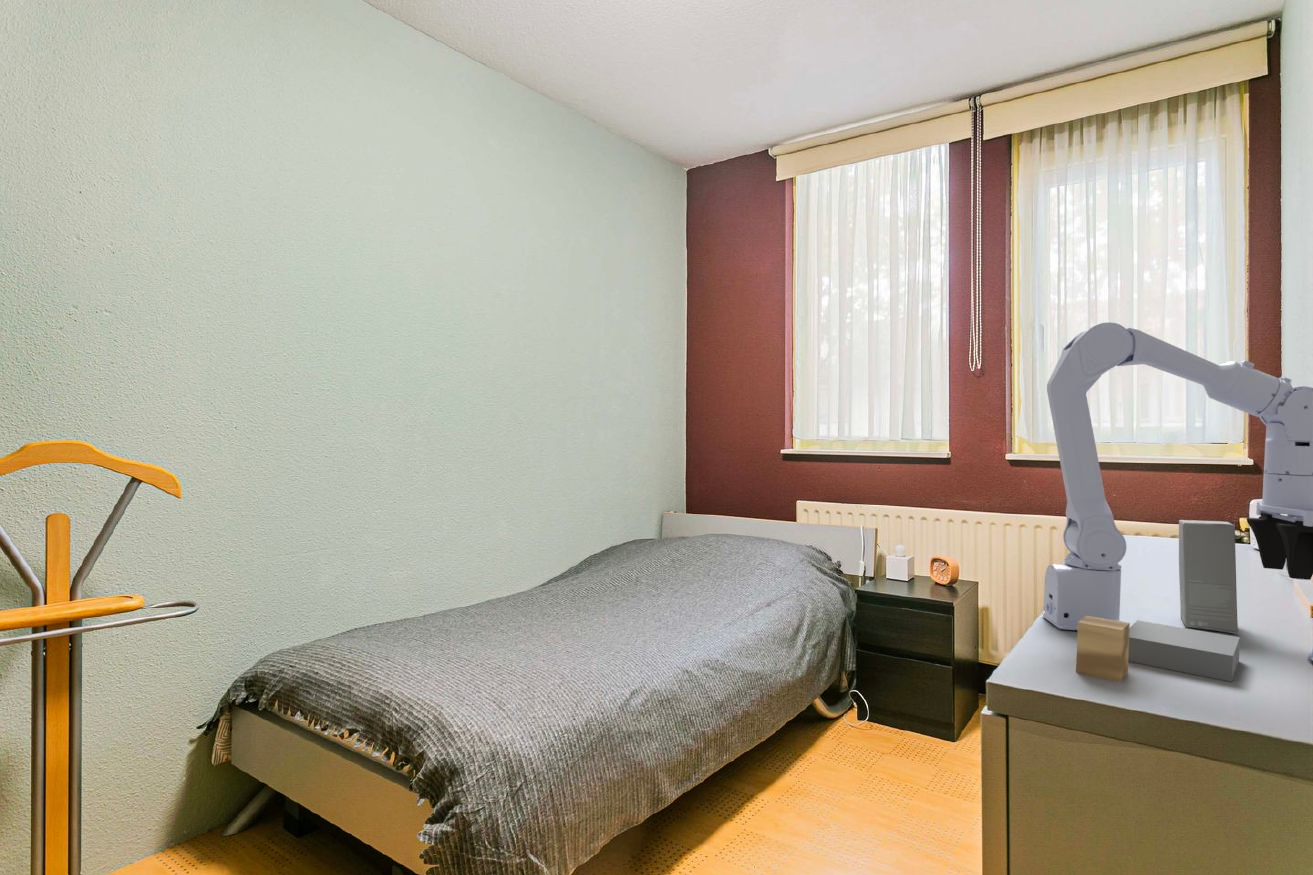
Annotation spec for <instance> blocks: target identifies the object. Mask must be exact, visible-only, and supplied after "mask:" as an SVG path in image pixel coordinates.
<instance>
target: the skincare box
mask: <svg viewBox="0 0 1313 875" xmlns="http://www.w3.org/2000/svg"><path fill="white" fill-rule="evenodd" d="M1236 559H1237V558H1236V525H1235V524H1232V523H1231V522H1229V521H1220V520H1217V521H1216V520H1194V519H1193V520H1192V519H1190V520H1189V519H1180V520H1178V573H1179V574H1178V575H1179V576H1178V578H1179V598H1180V599H1179V600H1180V603H1179V604H1180V619H1181V620H1182V622H1183V624H1184V626H1185V627H1187V628H1190V629H1201V630H1209V631H1217V632H1222V633H1228V634H1235V635H1236V634H1238V632H1239V626H1238V625H1239V623H1238V621H1239V620H1238V601H1237V600H1238V594H1237V591H1238V590H1237V566H1236V565H1237V562H1236Z"/></svg>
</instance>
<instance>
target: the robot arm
mask: <svg viewBox="0 0 1313 875" xmlns="http://www.w3.org/2000/svg"><path fill="white" fill-rule="evenodd" d="M1138 365H1139V366H1140V365H1147V366H1148V367H1152V368H1154V369H1157V370H1160V371H1163V372H1166V373H1168V374H1171V375H1174V376H1177V377H1179V378H1181V379H1185V380H1188V381H1189V382H1193V383H1196V384H1198V385H1201V386H1203V388H1204V390H1205V392H1206V394H1207V396H1208V398H1209V399H1211V400H1214V401H1216V402H1219V403H1221V404H1224V405H1227V406H1230V407H1231V408H1234V409H1237V410H1239V411H1240V412H1241V411H1242V412H1244V413H1246V414H1248V415H1251V416H1253V417H1256V418H1257V417H1258V418H1259V419H1260V422H1262V424H1264V425H1265V427H1266V428H1265V430H1266V431H1265V440H1264V441H1265V442H1264V458H1263V459H1264V460H1263V461H1264V462H1263V464H1264V466H1263V481H1262V482H1263V485H1262V501H1256V513H1255V514H1256V515H1257V516H1258V517H1246V523H1247V524H1248V525H1249V527H1250V529H1251V531H1252V533H1253V536H1254V537H1255V541H1256V544H1257V547H1258V552H1259V556H1260V561H1261V565H1262V567H1263V568H1264V569H1271V570H1284V568H1285V564H1286V570H1287V574H1288V577H1289V578H1290V579H1295V580H1296V579H1297V580H1307V581H1311V579H1312V577H1313V387H1311V386H1305V385H1303V386H1292V379H1290V378H1289V377H1286V376H1281V377H1279V378H1278V377H1276V376H1274V375H1271V374H1268V373H1266V372H1263V371H1261V370H1259V369H1256V368H1254V367H1255V363H1253V362H1251V361H1249V360H1242V361H1240V362H1238V361H1236V360H1235V361H1234V360H1231V361H1227V362H1225V363H1222V364H1216V363H1214V362H1212V361H1209V360H1207V359H1205V358H1203V357H1202V356H1201V357H1200V356H1199V355H1196V354H1194V353H1191V352H1189V351H1188V350H1184V349H1182V348H1180V347H1178V346H1177V345H1174V344H1171V343H1170V342H1169V343H1168V342H1166V341H1164V340H1162V339H1160V338H1157V337H1156V336H1153V335H1151V334H1149V333H1146V332H1143V331H1142V330H1140V329H1136V328H1132V327H1127V328H1126V327H1124V326H1123V325H1121V324H1120V323H1117V322H1111V321H1105V322H1100V323H1097V324H1095V325H1093V326H1092V327H1090V328H1089V329H1088V330H1085V331H1083V332H1082V331H1081V332H1080V333H1079V334H1077V335H1076V336H1075V337H1074V338H1073V339H1071V341H1069V342H1068V343H1067V344H1066V345H1065V346H1064V347H1063V348H1062V350H1061V354H1060V357H1059V359H1058V361H1057V362H1056V365H1055V366H1054V369H1053V371H1052V373H1051V375H1050V376H1049V379H1048V381H1047V384H1046V391H1047V392H1046V393H1047V399H1048V403H1049V404H1048V405H1049V409H1050V414H1051V418H1052V419H1051V420H1052V425H1053V430H1054V437H1055V441H1056V446H1057V452H1058V453H1057V454H1058V459H1059V463H1060V468H1061V475H1062V480H1063V484H1064V489H1065V490H1064V491H1065V497H1066V506H1065V507H1066V508H1065V517H1066V524H1065V527H1064V530H1063V534H1062V537H1063V538H1062V539H1063V543H1064V545H1065V547H1066V549H1067V550H1068V551H1069V553H1068V554H1067V555H1066V557H1064V561H1063V563H1060V564H1055V563H1053V564H1052V563H1051V564H1049V565H1048V566H1047V567H1046V570H1045V573H1044V574H1045V575H1044V590H1043V592H1044V595H1043V613H1044V611H1045V613H1044V614H1043V613H1041V615H1042V614H1043V616H1042V617H1043V618H1044V619H1046V620H1047V621H1048V622H1050V623H1051V624H1053V626H1055V627H1056V628H1057V629H1060V630H1071V631H1078V622H1079V621H1080V620H1081V619H1083V618H1084V617H1085V616H1092V617H1098V618H1104V619H1110V620H1116V621H1120V611H1121V610H1120V609H1121V588H1122V586H1121V585H1122V584H1121V582H1122V565H1121V564H1120V562H1121V561H1122V560H1123V559H1124V557H1125V555H1126V553H1127V552H1126V551H1127V541H1126V539H1125V537H1124V535H1123V533H1122V532H1121V531H1120V530H1119V529H1118V527H1117V525H1116V523H1115V519H1114V514H1113V512H1112V509H1111V508H1110V506H1109V504H1108V502H1107V498H1106V494H1105V488H1104V483H1103V477H1102V473H1101V466H1100V460H1099V457H1098V456H1099V455H1098V452H1097V446H1096V440H1095V434H1094V430H1093V424H1092V419H1091V413H1090V408H1089V407H1090V406H1089V403H1088V398H1087V393H1088V391H1089V390H1090V389H1091V388H1092V387H1093V386H1094V385H1095V383H1097V381H1098V380H1099V379H1101V377H1102V376H1103V375H1104V374H1105V373H1107V372H1108V371H1110V370H1111V369H1114V368H1115V367H1116V366H1117V367H1125V366H1126V367H1127V366H1138Z"/></svg>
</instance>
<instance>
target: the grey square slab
mask: <svg viewBox="0 0 1313 875" xmlns="http://www.w3.org/2000/svg"><path fill="white" fill-rule="evenodd" d="M1240 643H1241V637H1240V636H1234V635H1230V634H1229V635H1228V634H1223V633H1215V632H1210V631H1203V630H1197V629H1194V628H1188V627H1187V628H1185V627H1179V626H1175V625H1168V624H1161V623H1157V622H1156V623H1155V622H1149V621H1143V620H1138V619H1137V620H1136V621H1135V622H1134V623H1133V624H1132V625H1131V626H1130V628H1129V654H1128V662H1130V663H1134V664H1135V663H1136V664H1140V665H1144V666H1145V665H1146V666H1150V667H1151V666H1152V667H1156V668H1161V669H1166V670H1171V671H1175V672H1181V673H1184V674H1185V673H1186V674H1191V675H1196V676H1199V677H1200V676H1201V677H1206V678H1211V679H1214V680H1215V679H1216V680H1221V681H1225V682H1233V680H1234V676H1235V673H1236V671H1237V668H1238V666H1239V661H1240V645H1241V644H1240Z"/></svg>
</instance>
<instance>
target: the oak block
mask: <svg viewBox="0 0 1313 875" xmlns="http://www.w3.org/2000/svg"><path fill="white" fill-rule="evenodd" d="M1130 624H1131V623H1130V622H1126V621H1122V620H1119V621H1116V620H1110V619H1104V618H1098V617H1092V616H1085V617H1084V618H1083V619H1081V620H1080V621H1079V622H1078V630H1077V636H1076V640H1077V641H1076V663H1075V665H1076V666H1075V673H1077V674H1082V675H1085V676H1091V677H1095V678H1100V679H1104V680H1109V681H1115V682H1119V683H1121V682H1122V681H1123V680H1124V679H1125V677H1126V676H1127V675H1128V673H1129V661H1128V654H1129V628H1130V627H1131V626H1130Z"/></svg>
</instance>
